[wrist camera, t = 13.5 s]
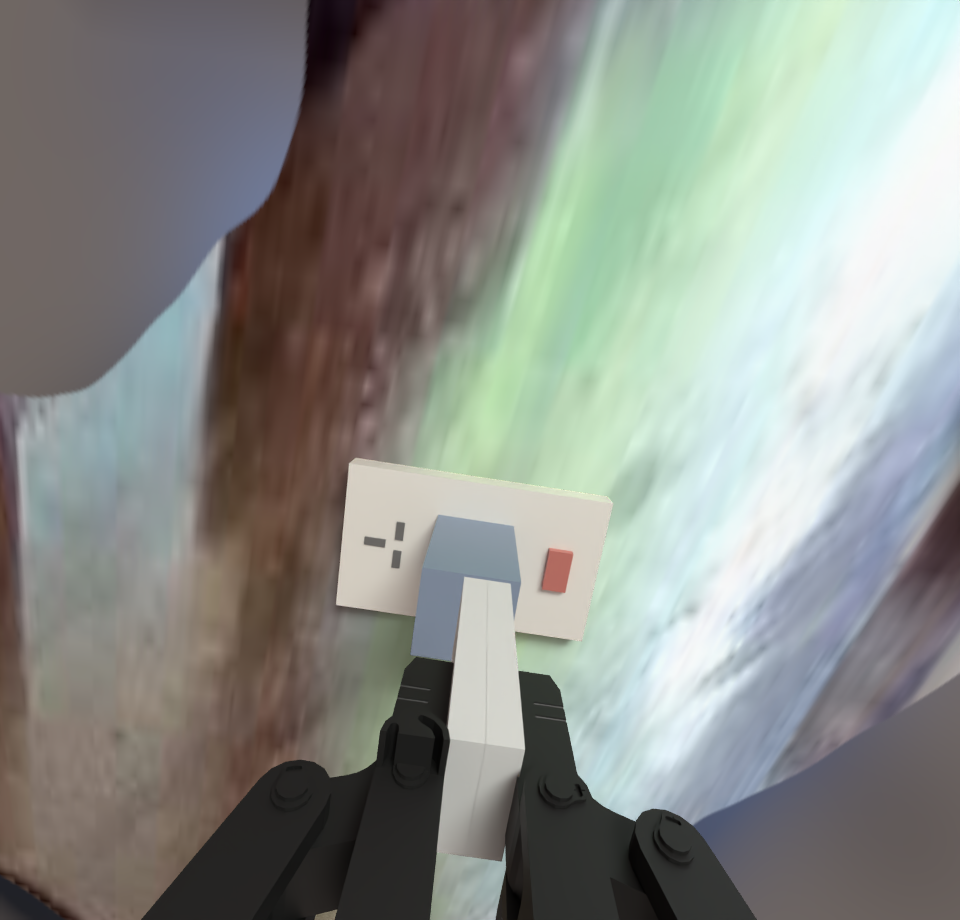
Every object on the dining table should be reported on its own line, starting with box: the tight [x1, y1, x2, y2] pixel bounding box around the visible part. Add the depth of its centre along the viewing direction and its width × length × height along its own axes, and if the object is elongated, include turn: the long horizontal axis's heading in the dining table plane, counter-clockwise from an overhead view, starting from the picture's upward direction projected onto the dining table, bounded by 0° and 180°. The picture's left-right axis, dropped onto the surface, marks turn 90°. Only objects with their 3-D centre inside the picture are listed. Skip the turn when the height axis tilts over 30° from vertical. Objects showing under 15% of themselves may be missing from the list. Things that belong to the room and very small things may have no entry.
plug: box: [410, 515, 521, 661], centre depth 38 cm, size 6×6×12 cm
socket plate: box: [336, 458, 613, 641], centre depth 42 cm, size 22×13×3 cm, turn 81°
